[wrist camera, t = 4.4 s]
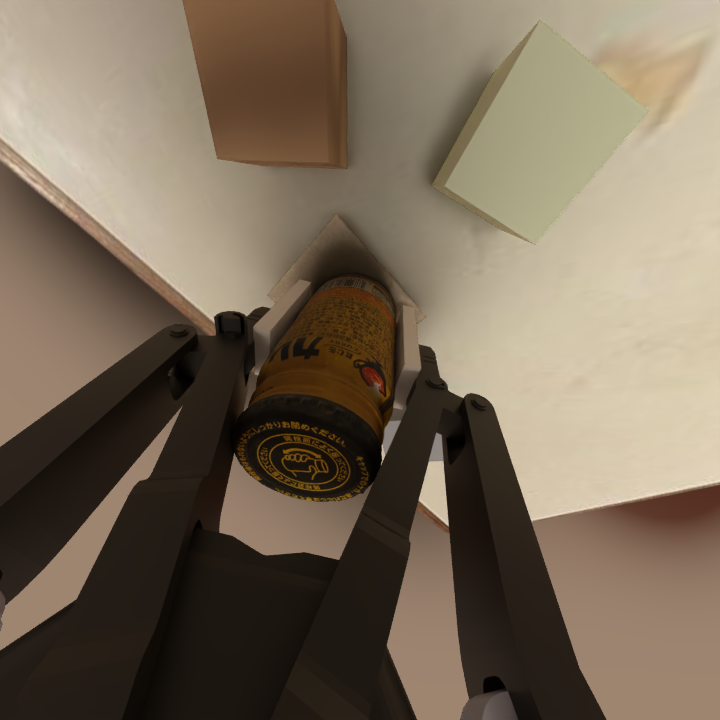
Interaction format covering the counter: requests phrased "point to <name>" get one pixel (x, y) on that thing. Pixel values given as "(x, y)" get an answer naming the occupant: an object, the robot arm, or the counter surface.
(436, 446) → the slate cube
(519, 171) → the sage cube
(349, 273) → the condiment
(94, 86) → the counter surface
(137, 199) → the counter surface
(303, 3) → the walnut cube
